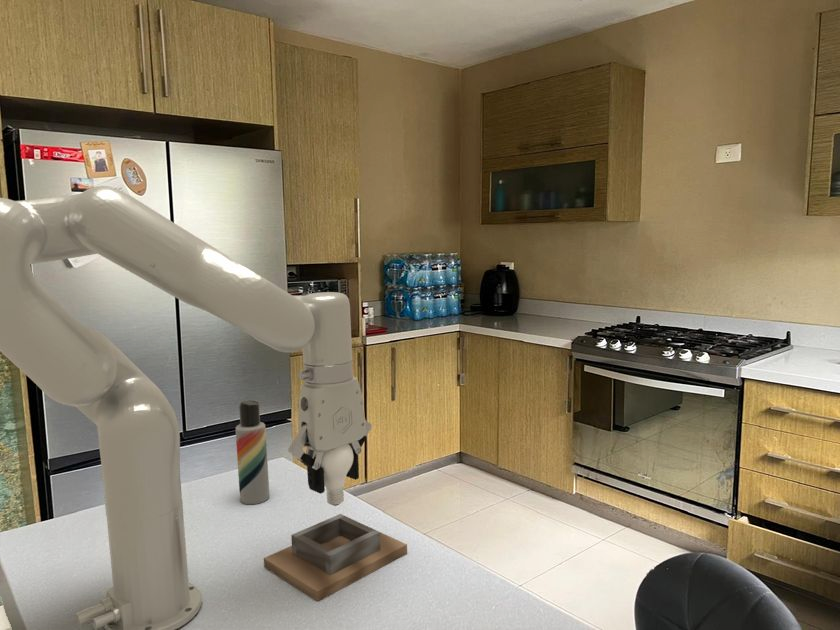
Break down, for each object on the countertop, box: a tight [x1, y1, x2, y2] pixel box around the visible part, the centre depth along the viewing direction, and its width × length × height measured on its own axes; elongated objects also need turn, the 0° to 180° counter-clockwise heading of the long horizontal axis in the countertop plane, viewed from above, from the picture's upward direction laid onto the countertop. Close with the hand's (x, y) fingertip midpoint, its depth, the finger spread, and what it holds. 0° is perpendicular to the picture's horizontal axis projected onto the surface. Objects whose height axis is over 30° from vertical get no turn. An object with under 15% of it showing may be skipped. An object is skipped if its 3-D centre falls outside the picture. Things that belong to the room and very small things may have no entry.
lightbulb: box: [313, 444, 354, 507], centre depth 98 cm, size 6×6×11 cm
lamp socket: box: [263, 513, 408, 602], centre depth 100 cm, size 18×14×4 cm
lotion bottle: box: [235, 400, 270, 505], centre depth 123 cm, size 6×6×20 cm
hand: (334, 482), depth 98 cm, fingers closed on lightbulb, 6 cm apart
